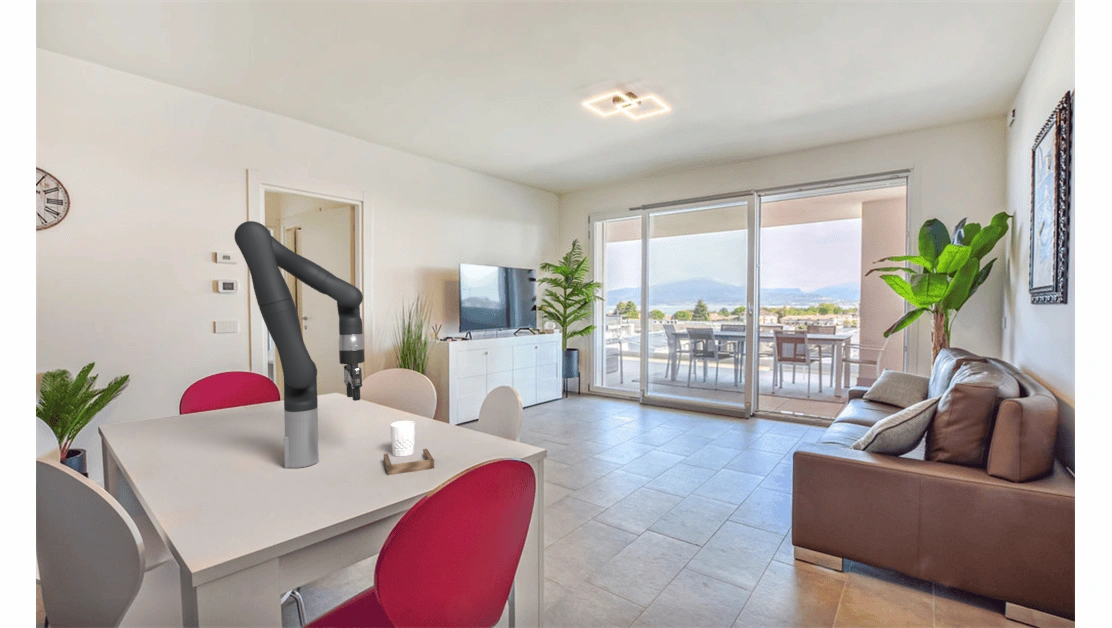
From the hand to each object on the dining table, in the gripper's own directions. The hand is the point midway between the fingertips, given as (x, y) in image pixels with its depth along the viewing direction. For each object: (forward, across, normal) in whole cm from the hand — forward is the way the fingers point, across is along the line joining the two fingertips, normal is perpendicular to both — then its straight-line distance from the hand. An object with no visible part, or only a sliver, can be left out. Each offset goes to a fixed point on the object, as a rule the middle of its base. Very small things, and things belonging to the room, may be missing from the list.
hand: (353, 398), depth 160 cm
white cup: (+20, +4, +14) cm, 25 cm away
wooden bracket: (+20, +16, +12) cm, 28 cm away
